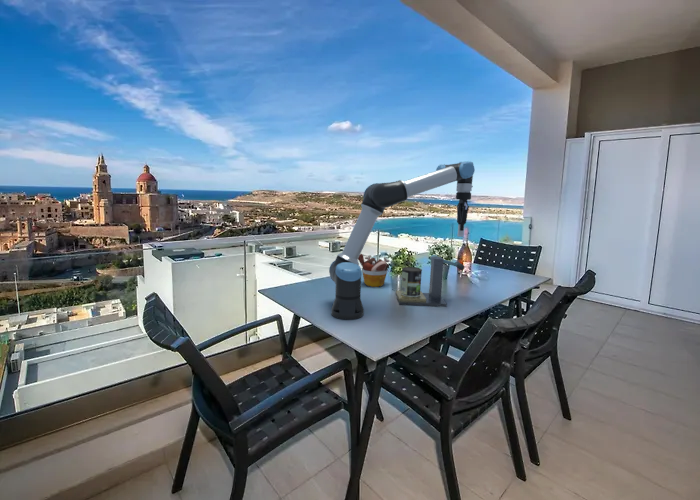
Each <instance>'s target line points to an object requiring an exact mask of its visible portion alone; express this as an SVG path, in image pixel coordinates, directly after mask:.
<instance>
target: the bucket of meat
mask: <svg viewBox="0 0 700 500" xmlns="http://www.w3.org/2000/svg"><path fill="white" fill-rule="evenodd" d="M358 263H360V264H359V265H361V273H362V277H363V278H362V279H363V283H364V284H365V285H366V286H367V287H370V286H371V287H370V288H379V286H380V287H382V286H383V285H385V281H386V277H387V274H388V270H389V268H390V264H388V263H390V259H387V257H385V256H384V257H383V260H382V259H380V258H379V259H378V260H376V258H375V257H372V255H370V254H369V255H368V256H365V257H364V254H362V253H361V254H360V256H359V258H358Z"/></svg>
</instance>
